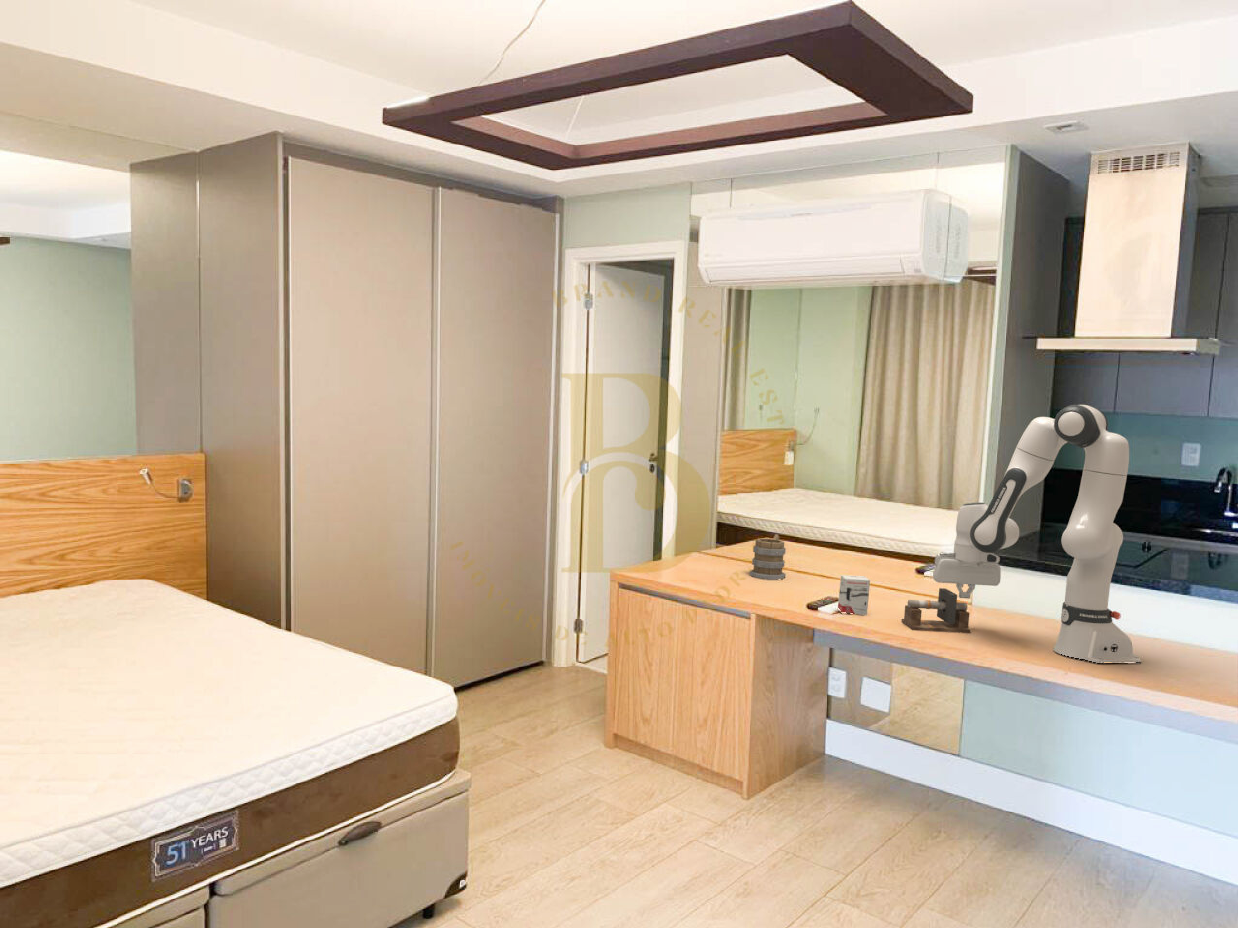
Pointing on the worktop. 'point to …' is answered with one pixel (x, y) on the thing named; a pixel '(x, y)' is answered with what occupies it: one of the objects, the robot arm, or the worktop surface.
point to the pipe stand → (915, 623)
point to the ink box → (854, 594)
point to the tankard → (768, 559)
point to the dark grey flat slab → (947, 605)
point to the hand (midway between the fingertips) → (964, 597)
